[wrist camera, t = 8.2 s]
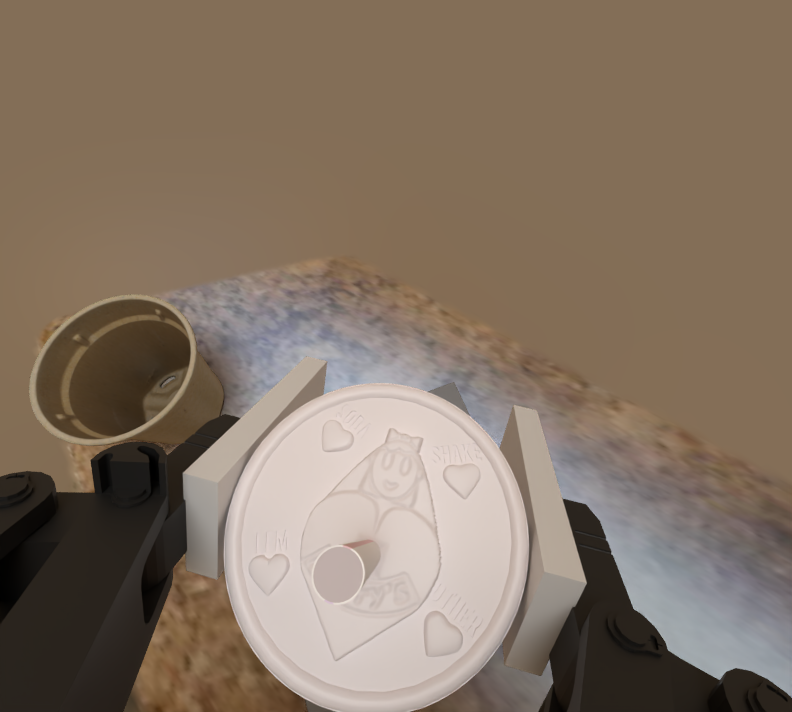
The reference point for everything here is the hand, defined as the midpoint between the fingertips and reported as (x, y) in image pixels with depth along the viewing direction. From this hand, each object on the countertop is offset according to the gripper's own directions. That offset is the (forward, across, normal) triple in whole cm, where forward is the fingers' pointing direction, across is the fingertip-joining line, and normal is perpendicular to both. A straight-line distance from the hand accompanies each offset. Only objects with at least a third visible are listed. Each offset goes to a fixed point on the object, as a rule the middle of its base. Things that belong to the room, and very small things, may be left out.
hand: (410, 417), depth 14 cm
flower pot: (+13, -18, -11) cm, 25 cm away
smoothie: (+1, 0, -6) cm, 6 cm away
